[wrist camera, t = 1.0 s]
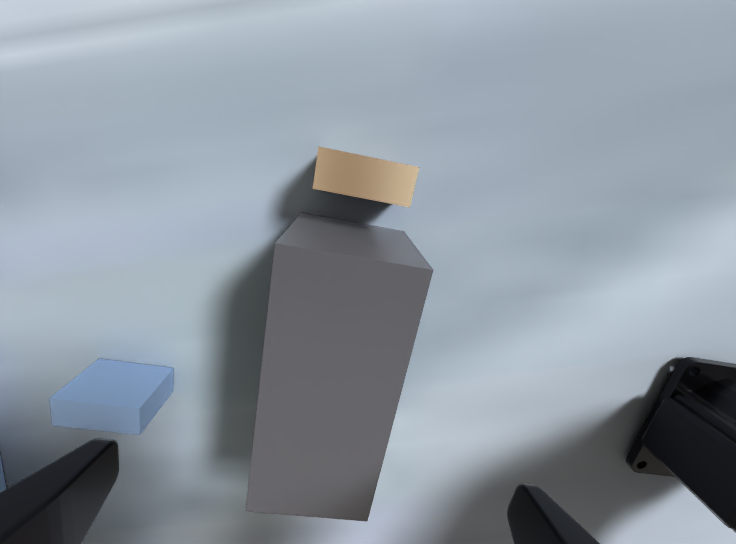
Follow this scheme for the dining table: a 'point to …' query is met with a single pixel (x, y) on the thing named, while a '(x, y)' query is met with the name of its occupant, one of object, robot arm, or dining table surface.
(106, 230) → the dining table surface
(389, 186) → the tan wooden block
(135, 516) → the dining table surface
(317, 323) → the tall grey block
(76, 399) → the separate blue rectangular blocks
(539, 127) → the dining table surface
